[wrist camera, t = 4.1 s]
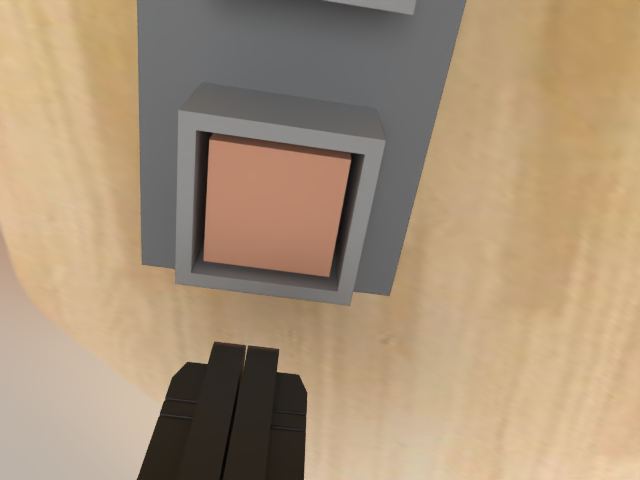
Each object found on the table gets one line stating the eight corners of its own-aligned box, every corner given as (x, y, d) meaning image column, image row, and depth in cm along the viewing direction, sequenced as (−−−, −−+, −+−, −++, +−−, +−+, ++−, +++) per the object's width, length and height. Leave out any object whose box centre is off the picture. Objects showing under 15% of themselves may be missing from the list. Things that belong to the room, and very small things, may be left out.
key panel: (150, -371, 16) (69, -516, 11) (526, -294, 17) (614, -395, 12) (153, 243, 27) (112, 316, 22) (385, 273, 28) (399, 350, 23)
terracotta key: (219, 122, 20) (209, 139, 19) (348, 141, 21) (351, 159, 19) (212, 236, 23) (203, 260, 21) (328, 251, 23) (329, 277, 21)
